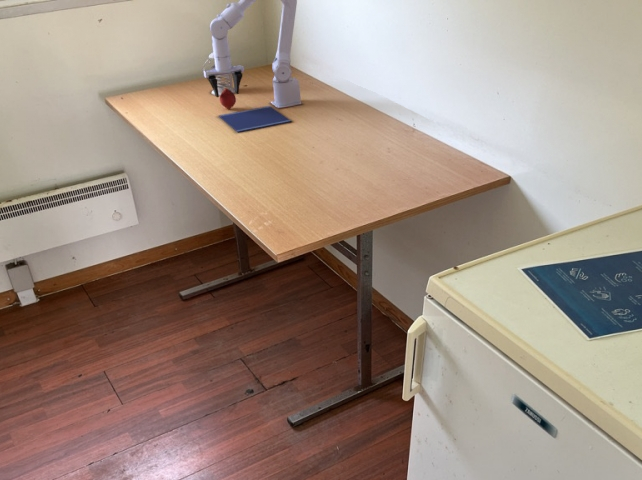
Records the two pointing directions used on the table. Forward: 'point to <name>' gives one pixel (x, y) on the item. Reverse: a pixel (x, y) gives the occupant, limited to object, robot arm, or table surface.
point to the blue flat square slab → (254, 119)
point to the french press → (221, 85)
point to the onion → (227, 98)
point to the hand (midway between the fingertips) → (226, 94)
